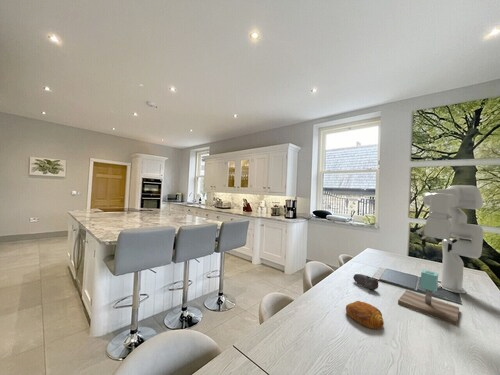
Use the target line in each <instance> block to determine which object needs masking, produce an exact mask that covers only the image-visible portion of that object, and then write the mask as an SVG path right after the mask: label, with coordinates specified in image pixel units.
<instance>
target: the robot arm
mask: <svg viewBox="0 0 500 375" xmlns="http://www.w3.org/2000/svg"><path fill="white" fill-rule="evenodd" d="M422 201H423V204H424V205H425V206H427V207H429V208H428V209H429V211H428V217H427V218H426V221H425V224H424V227H423V228H420V229H416V230H415V232H416V234H417V235H418V237H420V239H421V246H422V248H425V247H426V245H427V239H426V238H433V239H439V240H441V249H442V263H441V264H442V266H441V267H442V268H441V282H439V283H440V284H441V285H442V288H441V289H443V290H446V291H449V292H452V293H455V294H466V293H467V290H466V289H465V288H463V286H464V285H463V281H464V280H463V279H464V265H465V263H464V261H463V259H462V257H466V258H472V259H479V258H481V256H482V252H483V243H484V230H483V228H482V226H480V225H478V224H472V223H468V215H467V214H466V213H465V212H464V210H462V209H466V210H467V209H468V210H480V209H482V207H483V205H484V203H483V202H484V201H483V197H482V194H481V190H480V189H479V187H477V186H475V185H466V184H465V185H461V184H457V185H456V184H454V185H450V186H448V187H447V188H442V189H437V190H430V191H428V192H426V193H425V194H424V195H423V198H422ZM421 232H424V233H423V234H424V235H423V234H422V233H421ZM452 237H453V238H452ZM460 256H462V257H460Z"/></svg>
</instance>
